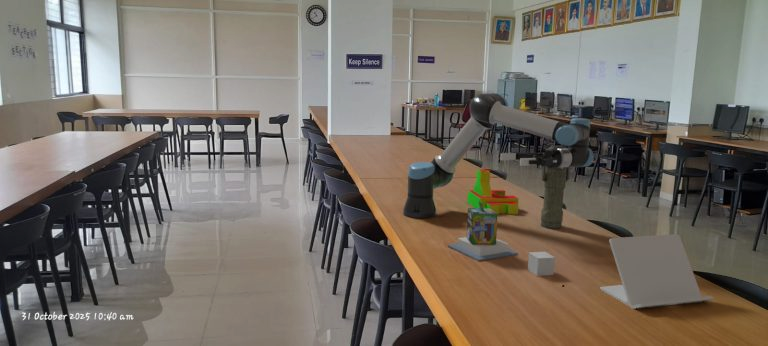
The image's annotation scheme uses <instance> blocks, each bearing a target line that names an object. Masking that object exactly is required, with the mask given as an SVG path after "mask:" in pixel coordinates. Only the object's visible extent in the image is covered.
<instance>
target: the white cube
mask: <svg viewBox="0 0 768 346" xmlns="http://www.w3.org/2000/svg"><path fill="white" fill-rule="evenodd" d="M555 261H556V257H555V256H553V254H552V255H551V254H550V253H548V252H547V251H533V252H532V251H531V252H530V251H529V252H528V261H527V270H528V271H529V272H530V273H532V274H534V275H535V276H536V277H539V276H553V275H554V273H555V272H554V271H555Z"/></svg>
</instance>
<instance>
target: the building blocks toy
mask: <svg viewBox="0 0 768 346" xmlns="http://www.w3.org/2000/svg"><path fill="white" fill-rule="evenodd" d="M490 178H491V170H489V169H487V168H486V169H483V168H482V169H481V168H480V169H479V168H478V169H477V170H476V182H475V184H474V186H473V188H472V189H469V190H467V203H468V204H469V205H471V206H472V208H480V205H479V201H480V202H482V205H483V208H491V209H492V210H494V211H495V212H496V213H497V215H500V214H507V215H519V197H517V196H515V195H506V190H505V189H491V185H490V184H491V183H490V181H491V180H490ZM481 207H482V206H481Z"/></svg>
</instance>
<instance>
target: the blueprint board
mask: <svg viewBox="0 0 768 346" xmlns="http://www.w3.org/2000/svg"><path fill="white" fill-rule="evenodd" d="M447 247H448V248H450V249H451V250H454V251H457V252H458V253H460V254H462V255H465V256H466V255H467V257H469V258H471V259H473V260H476V261H477V262H483V261H487V260H493V259H498V258H505V257H511V256H515V255H518V254H519V253H518V252H517V251H515V250H512V249H510V248H508V252H503V253H497V254H491V255H485V256H478V255H475V254H473V253H471V252H469V251H467V250H465V249H462V248H460V247H458V246H457V243H453V244H452V243H451V244H448V245H447Z"/></svg>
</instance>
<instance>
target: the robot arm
mask: <svg viewBox="0 0 768 346" xmlns="http://www.w3.org/2000/svg"><path fill="white" fill-rule="evenodd" d="M468 110H469V113H470V118H469V119H468V121H466V123H465V124H464V125H463V127H462V128H461V129H460V130H459V132H458V133H457V134H456V135H455V137H454V138H453V139H452V140H451V142H450V143H449V144H448V145H447V147H446V148H445V149H444V151H443V152H441V154H439V155H438V154H437V155H435V156H434V158H433V159H432V160H431V161H430V162H429V161H419V162H414V163H411V164H410V165H409V166H408V172H407V176H408V177H407V198H406V200H405V203H404V206H403V208H402V214H403V215H404V216H405V217H408V218H409V217H410V218H414V219H415V218H416V219H430V218H434V217H436V216H437V209H436V205H435V201H434V189H438V188H443V187H445V186H447V185H448V184H450V182H451V181H452V180H453V178H454V174H455V173H456V169H457V168H456V167H457V165H458V164H459V162H460V161H461V160H463V158H464V156H465V155H466V154H467V153H468V152H469V151H470V149H472V147H473V146H474V145H475V144H476V142H477V141H478V140H479V139H480V138H481V136H482V135H483V134H484V132H485V131H486V130H491V129H492V128H493V127H494V126H495V124H499V125H501V126H505V127H509V128H513V129H515V130H518V131H521V132H525V133H529V134H532V135H535V136H537V137H542V138H545V139H547V140H552V141H554V142H557V143H558V144H560V146H564V147H565V148H561V149H550V148H548V149H546V150H545V151H544V152H520V151H519V152H518V151H517V152H516V151H513V152H500V155H499V156H500V157H499V160H500V161H514V162H516V160H519V166H521V167H528V166H530V167H531V166H534V167H535V166H537V167H540V166H541V168H542V167H543V166H546V168H547V167H548V168H557V167H558V168H559V167H561V169H563V167H565V168H566V167H570V168H584V167H590V166H591V165H592V163H593V162H594V158H595V156H594V153H593V150H592V149H591V148H589V141H590V131H591V130H590V129H591V120H590V119H588V118H582V117H581V118H580V117H577V118H576V117H574V118H571V119H570V123H569V124H568V123H566V122H561V121H559V120H555V119H550V118H548V117H544V116H541V115H537V114H534V113H531V112H527V111H524V110H520V109H517V108H513V107H510V106H509V104H508V100H507V99H506V97H505V96H504V95H502V94H499V93H496V92H493V93H480V94H477V95H475V96H474V97H473V98H471V100H470V102H469V108H468ZM566 147H567V148H566Z"/></svg>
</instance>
